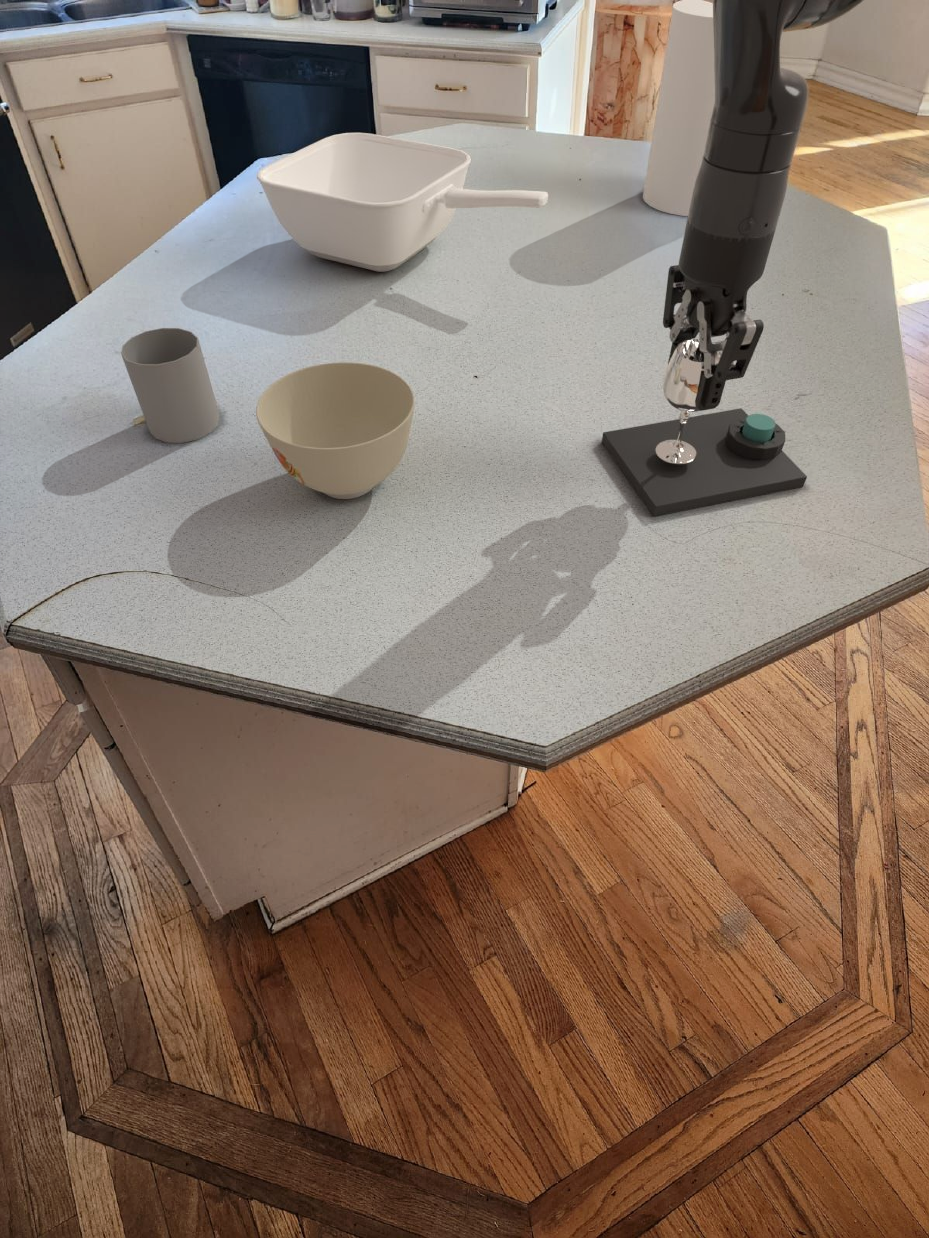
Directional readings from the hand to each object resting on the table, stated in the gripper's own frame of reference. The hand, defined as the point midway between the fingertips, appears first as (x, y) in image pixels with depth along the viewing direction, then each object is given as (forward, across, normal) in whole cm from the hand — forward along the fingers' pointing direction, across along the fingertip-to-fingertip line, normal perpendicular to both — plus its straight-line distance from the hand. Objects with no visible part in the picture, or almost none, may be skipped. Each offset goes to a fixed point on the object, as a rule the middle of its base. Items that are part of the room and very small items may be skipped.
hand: (690, 390), depth 78 cm
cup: (+10, +25, +52) cm, 59 cm away
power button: (+7, 0, -10) cm, 12 cm away
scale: (+10, 0, -4) cm, 11 cm away
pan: (+10, +62, +14) cm, 65 cm away
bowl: (+10, +8, +36) cm, 38 cm away
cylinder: (+10, +74, -40) cm, 85 cm away
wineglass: (+8, 0, 0) cm, 8 cm away
